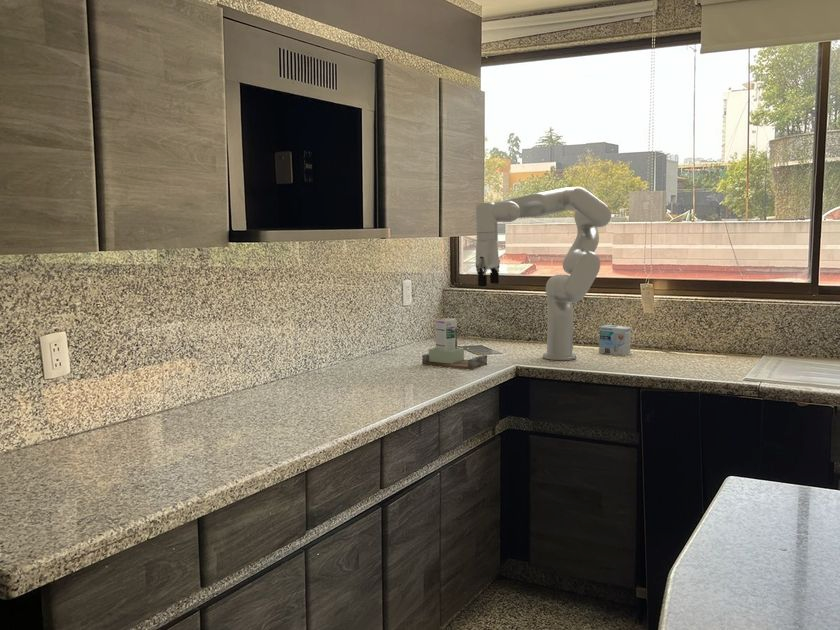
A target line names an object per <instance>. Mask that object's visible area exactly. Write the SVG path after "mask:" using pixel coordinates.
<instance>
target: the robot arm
mask: <svg viewBox="0 0 840 630" xmlns="http://www.w3.org/2000/svg"><path fill="white" fill-rule="evenodd" d="M610 209H611V208H610V207H609V206H608V205H607V204H606V203H605V202H603V201H602V200H600V199H599V198H598V197H596V196H595V195H594V194H592V193H591V192H590V191H588V190H587V189H586V188H583V187H581V186H569V187H562V188H556V189H552V190H547V191H542V192H541V191H540V192H537V193H532V194H527V195H522V196H519V197H514V198H513V197H512V198H508V199H503V200H502V199H501V200H499V201H495V202H491V201H490V202H479V203H477V204H476V206H475V222H476V225H475V226H476V228H475V229H476V245H475V268H476V273H477V275H476V276H477V285H478V287H488V279H487V278H488V275H487V274H486V273H487V271H488V270H490V272H489V277H490V279H489V280H490V281H489V283H490V284H495V285H496V284H499V283H500V278H499V277H500V276H499V274H500V273H499V272H500V262H501V259H500V258H499V246H498V241H499V234H498V233H499V232H498V231H499V229H498V223H511V222H515V221H516V220H517V219H520V218H536V217H543V216H549V215H553V214H558V213H563V212H567V211H574V216H573V217H574V222H575V225H576V228H577V231H576V232H577V234H576V237H575V239H574V242H573V243H572V246H570V248H569V250H568V252H567V253H566V256H565V257H564V259H563V261H562V269H563V271H564V272H565V273H566V274H562V273H561V274H554V275H552V276H550V277H549V279H548V280H547V282H546V284H545V294H546V300H547V301H546V302H547V323H546V324H547V328H546V329H547V331H546V332H547V333H546V336H547V337H546V338H547V339H546V340H547V341H546V352H544V353H543V354H542V359H543V358H544V360H545V359H546V360H551V361H573V360H576V359H577V354H575V353H573V349H574V346H573V343H574V342H573V339H574V338H573V336H574V333H573V332H574V331H573V330H574V307H573V303H577V302H579V301H581V300H582V299H584V297H585V296H586V295H587V293H588V292H589V290H590V288H591V286H592V285H593V284H594V281H595V280H596V278H597V276H598V274H599V272H600V269H601V259H600V257H599V255H598V254H597V253H596V249H597V248H598V245H599V241H600V234H599V230H598V228H601V227H606V226H607V225H608V224H609V223H610V221H611V219H612V212H611V210H610Z"/></svg>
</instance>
